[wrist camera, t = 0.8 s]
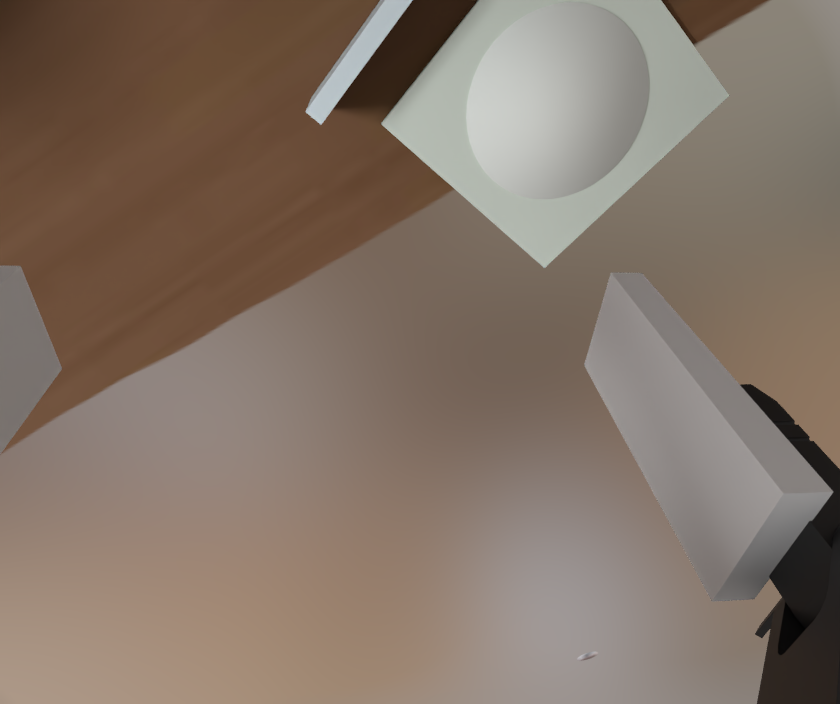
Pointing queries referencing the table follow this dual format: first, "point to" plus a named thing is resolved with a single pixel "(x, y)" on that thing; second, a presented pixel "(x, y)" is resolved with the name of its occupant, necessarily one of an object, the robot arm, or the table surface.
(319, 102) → the acrylic wall
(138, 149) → the table surface
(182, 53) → the table surface
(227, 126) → the table surface
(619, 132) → the rest mat
